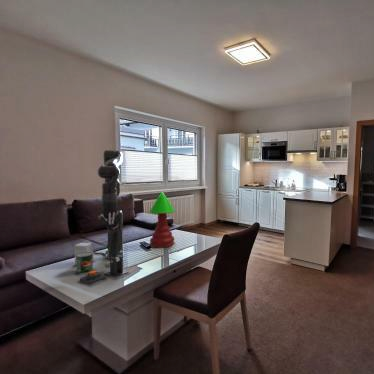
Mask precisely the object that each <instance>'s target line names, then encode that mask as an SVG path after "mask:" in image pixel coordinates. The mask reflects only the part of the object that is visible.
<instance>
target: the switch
mask: <svg viewBox="0 0 374 374" xmlns="http://www.w3.org/2000/svg"><path fill="white" fill-rule="evenodd" d="M118 261H120V259H119V257H116V262H118ZM104 268H106V269H108V268H109V269H110V261H109V262H105V263H104Z"/></svg>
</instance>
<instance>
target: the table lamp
mask: <svg viewBox="0 0 374 374" xmlns="http://www.w3.org/2000/svg"><path fill="white" fill-rule="evenodd" d="M149 213H150V214H157V222H156V226H155V228H154V232H153V233H152V234H151V235H152V237H151V238H150V239H149V242H150V243H149V247H151V248H157V249H159V248H168V247H172V246H173V245H175V243H176V242H175V237H174V236H173V232H172V231H171V230H170V226H169V225H168V220H167V219H168V215H167V214H172V213H175V209H174V207H173V206H172V204H171V202H170V200H169V199H168V197H167V196H166V195H165V193H164V192H163V191H161V193H160V194H159V196H158V197H157V198H156V200H155V201H154V204H153V205H152V206H151V208H150V210H149Z"/></svg>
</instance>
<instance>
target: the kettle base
mask: <svg viewBox="0 0 374 374" xmlns="http://www.w3.org/2000/svg"><path fill="white" fill-rule="evenodd" d="M116 257H119V259H120V261H118V262H116V258H113V257H110V259H109V263H110V267H109V271H108V272H105V273H104V276H109V277H112V278H114V279H116V278H118V277H121V276H123V275H126V274H128V273H129V271H127V270H124V259H123V258H124V255H123V256H120V255H116Z"/></svg>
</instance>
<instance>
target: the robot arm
mask: <svg viewBox="0 0 374 374" xmlns="http://www.w3.org/2000/svg"><path fill="white" fill-rule="evenodd" d="M102 155H103V164H101V165H100V166H99V167H98V170H97V175H98V177H99V178H100V179H104V182H103V183H102V184H101V190H102V191H101V210H102V211H101V214H100V215H98V216H97V219H98V220H99V221H100V222H101V223H102V224H105V225H106V230H107V244H106V249H105V253H104V252H95V251H94V250H93V254H96V255H104V256H106V258H107V259H109V260H110V257H113V258H116V255H120V256H123V257H124V234H123V232H124V231H123V221H124V214H123V211H122V210H118V197H119V195H120V194H121V183H120V181H119V177H120V174H121V171H120V168H119V166H120V165H121V164H122V162H123V153H122V152H121V150H111V149H105V150H104V151H103V154H102ZM114 225H116V226H114Z"/></svg>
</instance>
